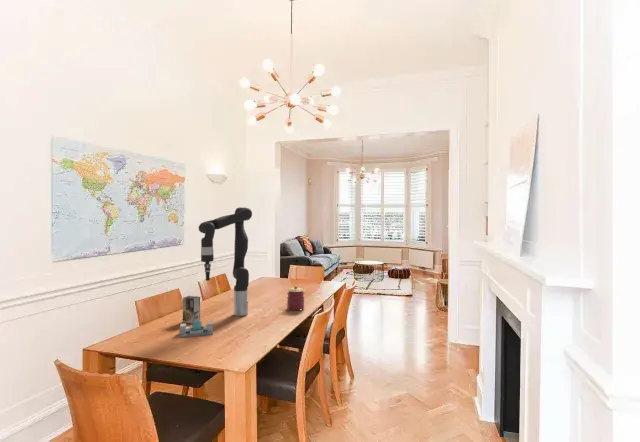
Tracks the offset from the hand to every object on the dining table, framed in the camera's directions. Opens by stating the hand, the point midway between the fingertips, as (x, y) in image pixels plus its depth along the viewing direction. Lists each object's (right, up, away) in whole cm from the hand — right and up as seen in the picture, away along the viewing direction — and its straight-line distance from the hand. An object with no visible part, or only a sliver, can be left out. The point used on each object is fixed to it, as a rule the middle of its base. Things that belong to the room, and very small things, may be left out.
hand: (207, 279), depth 215 cm
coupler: (-2, -28, -15) cm, 32 cm away
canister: (+53, -29, +40) cm, 73 cm away
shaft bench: (-2, -29, -15) cm, 33 cm away
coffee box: (-13, -29, +6) cm, 32 cm away
